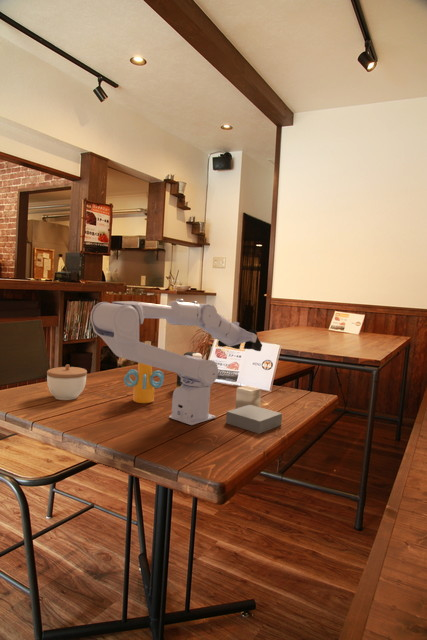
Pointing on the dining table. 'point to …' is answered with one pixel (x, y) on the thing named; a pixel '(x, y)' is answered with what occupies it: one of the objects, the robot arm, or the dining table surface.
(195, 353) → the medicine bottle
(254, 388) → the cream block
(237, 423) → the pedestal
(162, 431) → the dining table surface
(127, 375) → the cylinder
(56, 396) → the lidded jar
